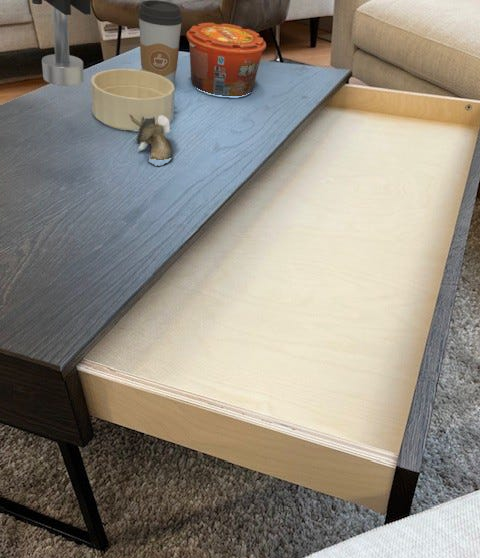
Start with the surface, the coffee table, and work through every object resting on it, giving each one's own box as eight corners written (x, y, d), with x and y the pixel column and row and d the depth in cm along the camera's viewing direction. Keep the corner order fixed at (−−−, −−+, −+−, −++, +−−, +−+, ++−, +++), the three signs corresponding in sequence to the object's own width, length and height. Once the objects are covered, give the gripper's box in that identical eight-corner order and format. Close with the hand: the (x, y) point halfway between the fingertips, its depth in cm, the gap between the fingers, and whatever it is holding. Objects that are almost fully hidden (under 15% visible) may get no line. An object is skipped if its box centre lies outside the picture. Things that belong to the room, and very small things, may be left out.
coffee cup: (137, 91, 121) (137, 9, 111) (137, 76, 127) (138, -3, 118) (180, 95, 123) (184, 14, 113) (178, 80, 129) (182, 2, 119)
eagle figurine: (116, 135, 102) (125, 150, 95) (138, 98, 101) (149, 110, 93) (155, 159, 106) (166, 175, 99) (177, 124, 105) (190, 137, 98)
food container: (275, 94, 131) (282, 41, 124) (221, 107, 121) (227, 51, 114) (222, 69, 138) (227, 18, 131) (167, 80, 128) (169, 25, 121)
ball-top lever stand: (36, 81, 82) (21, -90, 70) (52, 69, 86) (40, -94, 74) (75, 88, 82) (66, -81, 70) (89, 76, 86) (83, -85, 74)
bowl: (80, 123, 106) (78, 88, 102) (107, 95, 117) (107, 63, 114) (161, 139, 106) (162, 105, 102) (181, 109, 117) (182, 78, 113)
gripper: (58, -17, 93) (133, 33, 80) (-47, -17, 85) (18, 38, 72) (55, -75, 88) (134, -32, 75) (-57, -81, 80) (10, -35, 67)
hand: (77, 2), depth 74 cm, fingers closed on ball-top lever stand, 2 cm apart
